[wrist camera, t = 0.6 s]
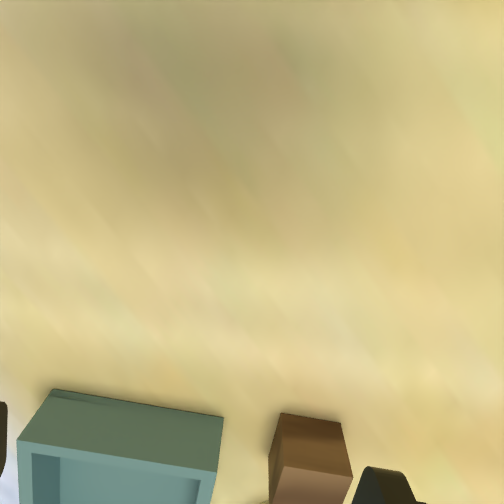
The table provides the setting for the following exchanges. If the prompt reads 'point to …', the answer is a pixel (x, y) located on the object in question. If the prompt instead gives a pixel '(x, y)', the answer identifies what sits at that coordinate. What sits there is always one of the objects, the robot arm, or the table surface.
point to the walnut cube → (308, 462)
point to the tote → (116, 453)
